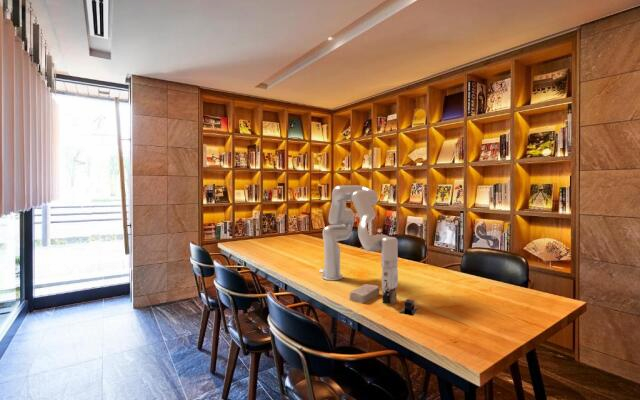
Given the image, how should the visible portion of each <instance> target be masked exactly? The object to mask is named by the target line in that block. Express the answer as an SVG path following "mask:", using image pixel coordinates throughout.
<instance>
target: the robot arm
mask: <svg viewBox="0 0 640 400" xmlns="http://www.w3.org/2000/svg"><path fill="white" fill-rule="evenodd" d="M347 201H348V202H349V201H351V202H352V203H353V206H354V208H355V209H354V210H355V211H356V213H357V216H358V218H359V223H358V227H357V235H358V240H359V242H360V244H361V246H362V248H363V249H364V250H365V251H366V252H376V251H381V252H380V253H381V254H380V255H381V256H380V257H381V258H380V259H381V260H380V261H381V268H382V269H381V290H382V304H385V303H387V304H386V305H390V295H389V293H390V289H391V290H392V289H396V290H397V286H398V285H399V271H398V265H399V262H398V260H399V259H398V258H399V257H398V256H399V255H398V254H399V251H398V249H399V248H398V246H399V245H398V244H399V243H398V242H399V241H398V238H397V237H395V236H388V235H386V234H372V235H370V233H369V230H368V223H370V222H371V221H373V220H374V219H375V217H376V216H377V213H376V212H375V210H374V208H373V206H375V205H377V203H378V202H379V196H378V194H377V192H376V191H375V190H373V189H371V188H369V187H366V186H363V185H345V184H344V185H337V186H335V187H334V188H333V189H332V192H331V204H330V208H329V213H328V223H329V224H330V225H327V226H325V227H324V228H323V229H322V239H323V250H324V251H323V252H324V255H323V256H324V259H323V260H324V261H323V262H324V269H323V268H320V269H319V273H320V274H322V275H321V278H322V279H323V280H325V281H340V280H342V279H343V278H344V275H343V274H341V247H340V245H339V244H338V241H345V240H348V239H349V238H350V236H351V234H352V230H353V227H354V223H355V213H354V210H352V209H351V208H347ZM387 290H388V292H387Z"/></svg>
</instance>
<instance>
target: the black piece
mask: <svg viewBox="0 0 640 400" xmlns="http://www.w3.org/2000/svg"><path fill="white" fill-rule="evenodd" d="M419 309H420V308H419V307H418V306H417V307H416V306H415V300H414V299H410V298H407V299H406V300H405V301H404V307H403V308H402V309H401V310H400V311H399V314H400V315H401V314H402V315H407V316H411V317H413V316H414V315H415V314H416V313H417V312H418V311H419Z"/></svg>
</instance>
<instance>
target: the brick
mask: <svg viewBox="0 0 640 400" xmlns="http://www.w3.org/2000/svg"><path fill="white" fill-rule="evenodd" d="M380 290H381V289H380V286H378V285H374V284H367V283H365V284H363V285H361V286H359V287H357V288H355V289H352V290H351V291H350V292H349V301H351V302H355V303H359V304H365V303H367V302H369V301H370V300H373V299H374V298H376V297H377V296H378V295H379V294H380Z"/></svg>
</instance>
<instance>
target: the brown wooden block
mask: <svg viewBox="0 0 640 400" xmlns="http://www.w3.org/2000/svg"><path fill="white" fill-rule="evenodd" d="M387 292H388V290H387ZM389 295H390V304H389V305H390V306H393V305H395V304H396V303H397V288H396V289H392V290H391V289H390V293H389ZM384 304H385V305H388V304H387V303H384Z"/></svg>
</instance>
